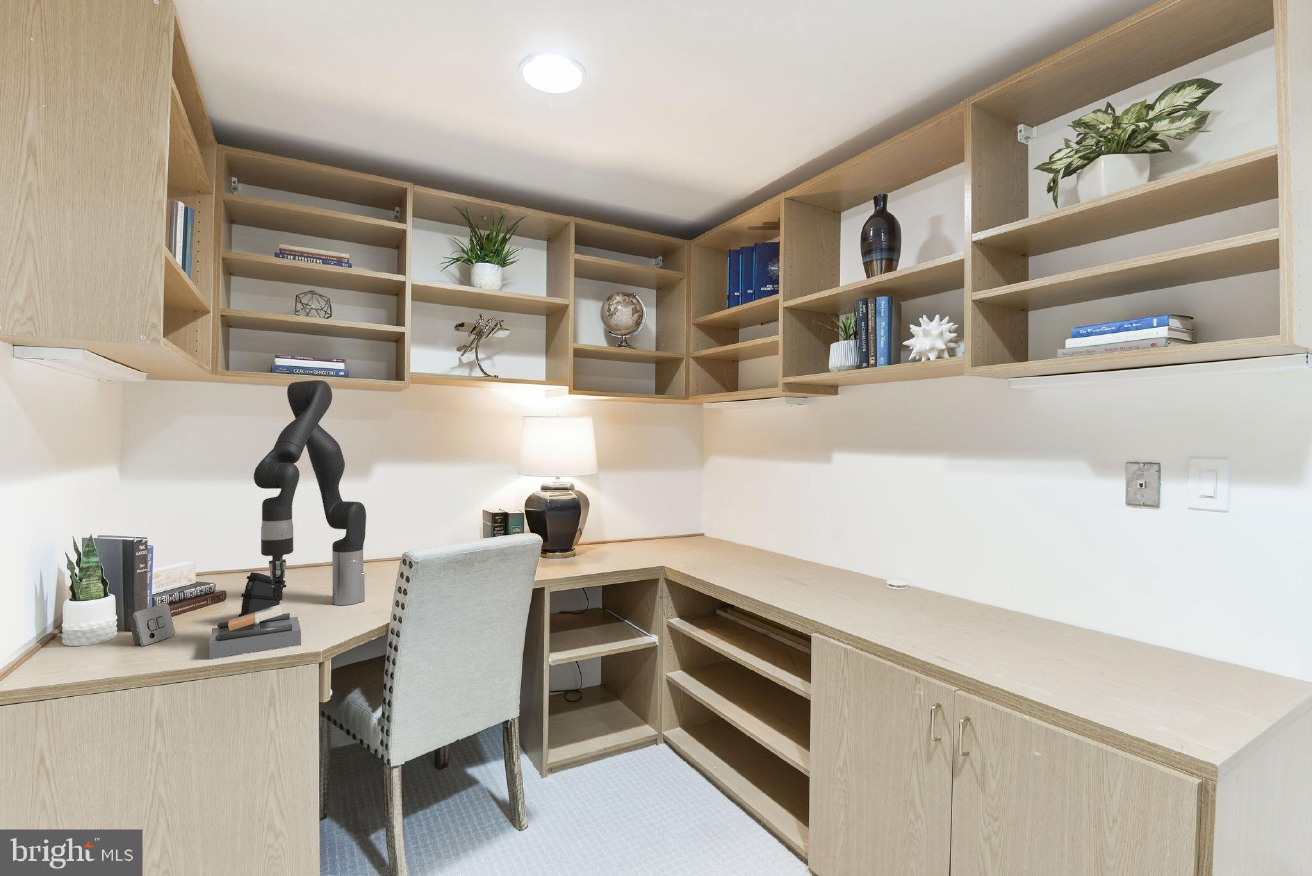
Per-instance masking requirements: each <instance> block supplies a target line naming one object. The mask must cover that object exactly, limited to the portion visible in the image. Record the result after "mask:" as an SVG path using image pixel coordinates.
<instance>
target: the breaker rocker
mask: <svg viewBox="0 0 1312 876" xmlns="http://www.w3.org/2000/svg"><path fill="white" fill-rule="evenodd" d="M282 614H283V611H282V607H281V604H280V605H277V606H274V607H271V608H267V609H264V610H261V611H257V612H254V613H251V614H248V615H244V616H241V617H239V616H238V617H235V618H231V619H228V621H229V623H228V627H229V631H231V630H234V629H237V628H241V627H244V626H247V625H250V624H253V623H254V625H258V624H259V622H260V621H263V620H266V619H269V618H273V617H276V616H279V615H282Z"/></svg>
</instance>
